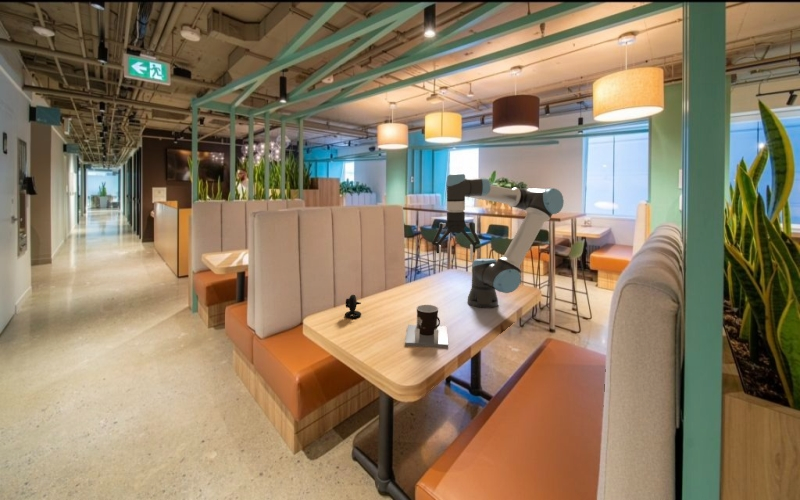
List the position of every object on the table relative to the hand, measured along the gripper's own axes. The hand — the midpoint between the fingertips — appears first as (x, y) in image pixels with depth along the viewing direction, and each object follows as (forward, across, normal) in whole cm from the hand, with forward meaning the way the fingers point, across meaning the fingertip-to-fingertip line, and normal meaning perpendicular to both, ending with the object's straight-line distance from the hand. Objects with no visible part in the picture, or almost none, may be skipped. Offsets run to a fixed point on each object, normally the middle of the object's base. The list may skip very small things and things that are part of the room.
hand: (455, 260), depth 148 cm
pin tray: (+26, +13, +20) cm, 36 cm away
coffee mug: (+25, +13, +20) cm, 35 cm away
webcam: (+26, +47, 0) cm, 53 cm away
